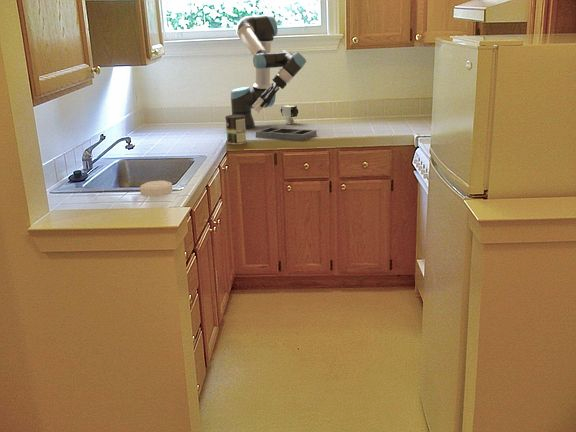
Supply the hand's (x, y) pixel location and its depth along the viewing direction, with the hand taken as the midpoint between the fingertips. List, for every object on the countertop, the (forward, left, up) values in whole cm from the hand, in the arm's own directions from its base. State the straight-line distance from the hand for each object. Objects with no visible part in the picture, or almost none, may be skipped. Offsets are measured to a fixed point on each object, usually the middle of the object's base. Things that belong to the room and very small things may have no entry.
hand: (255, 109), depth 319 cm
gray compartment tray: (+8, +17, -17) cm, 25 cm away
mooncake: (+21, -100, -17) cm, 104 cm away
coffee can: (-8, -7, -17) cm, 20 cm away
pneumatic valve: (-12, +55, -17) cm, 59 cm away
